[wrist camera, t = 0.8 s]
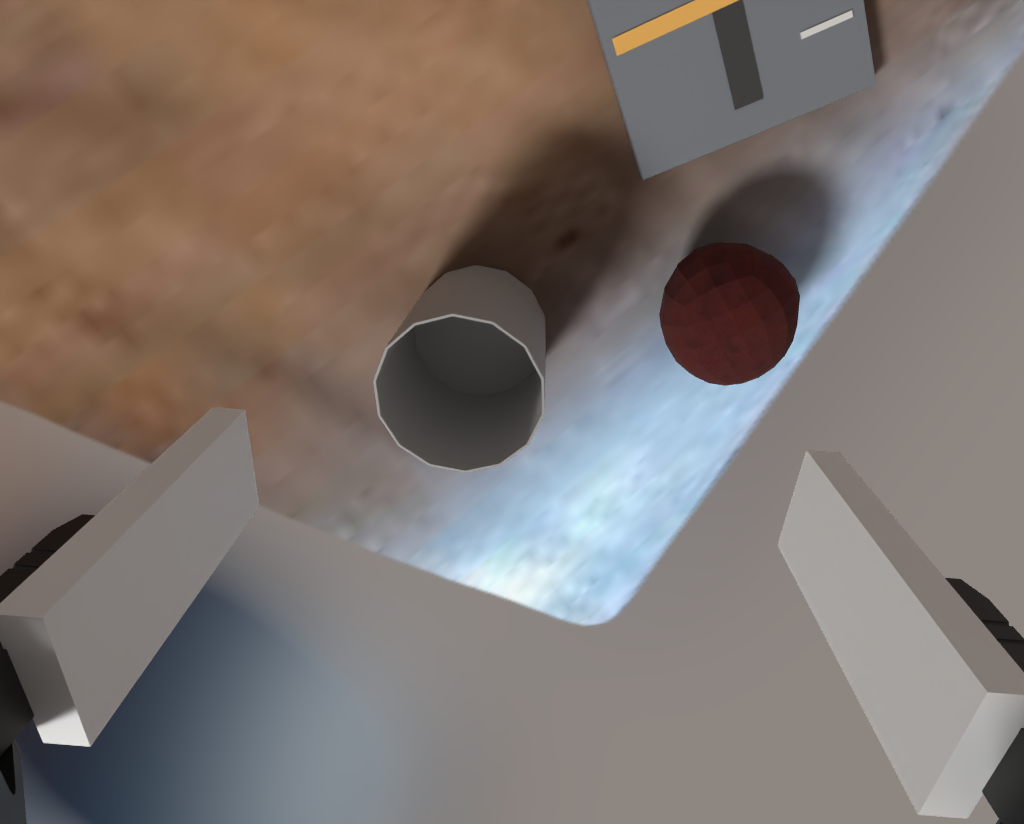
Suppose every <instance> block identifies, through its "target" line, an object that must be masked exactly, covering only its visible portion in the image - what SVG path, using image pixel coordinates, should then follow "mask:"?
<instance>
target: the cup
mask: <svg viewBox="0 0 1024 824" xmlns="http://www.w3.org/2000/svg"><path fill="white" fill-rule="evenodd" d="M545 358H546V330H545V315H544V313H543V311H542V309H541V307H540V305H539V303H538V301H537V299H536V298H535V296H534V294H533V292H532V290H531V289H530V288H528V287H527V286H526V285H524V284H523V283H522V282H520V281H519V280H518V279H516V278H515V277H514V276H512V275H511V274H510V273H508V272H507V271H504V270H499V269H494V268H489V267H484V266H479V265H473V266H470V267H466V268H462V269H458V270H454V271H450V272H446V273H445V274H444V275H443V276H442V277H440V278H439V279H438V280H437V281H436V282H435V283H434V284H433V285H431V286H430V287H429V288H428V289H427V290H426V291H425V292H424V293H423V294H422V296H421V297H420V299H419V300H418V301H417V303H416V304H415V306H414V307H413V309H412V310H411V312H410V313H409V314H408V316H407V317H406V319H405V320H404V322H403V323H402V325H401V326H400V328H399V329H398V330H397V332H396V333H395V335H394V336H393V338H392V339H391V341H390V342H389V343H388V345H387V346H386V348H385V351H384V353H383V356H382V359H381V361H380V364H379V367H378V370H377V372H376V375H375V378H374V380H373V383H374V390H375V397H376V404H377V411H378V417H379V418H380V419H381V421H382V422H383V424H384V425H385V427H386V428H387V430H388V431H389V433H390V434H391V436H392V437H393V439H394V440H395V442H396V443H397V445H398V446H399V447H401V448H402V449H404V450H405V451H407V452H408V453H410V454H412V455H413V456H415V457H416V458H418V459H419V460H421V461H422V462H424V463H425V464H427V465H429V466H432V467H438V468H443V469H448V470H453V471H458V472H464V473H467V472H472V471H477V470H481V469H486V468H491V467H496V466H501V465H502V464H503V463H505V462H506V461H508V460H509V459H510V458H512V457H513V456H514V455H516V454H517V453H519V452H520V451H521V450H523V449H524V448H526V447H527V446H528V445H529V444H530V442H531V440H532V438H533V436H534V434H535V432H536V430H537V428H538V426H539V424H540V422H541V421H542V419H543V417H544V415H545Z"/></svg>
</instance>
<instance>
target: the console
mask: <svg viewBox="0 0 1024 824" xmlns="http://www.w3.org/2000/svg"><path fill="white" fill-rule="evenodd" d="M587 3H588V6H589V9H590V13H591V16H592V19H593V23H594V26H595V29H596V32H597V36H598V39H599V42H600V46H601V49H602V52H603V55H604V59H605V62H606V65H607V69H608V72H609V75H610V78H611V82H612V85H613V88H614V92H615V95H616V98H617V101H618V105H619V108H620V111H621V115H622V118H623V121H624V124H625V128H626V131H627V134H628V137H629V141H630V144H631V147H632V151H633V154H634V157H635V160H636V164H637V167H638V170H639V174H640V177H641V178H642V179H643V180H645V179H647V178H650V177H652V176H655V175H657V174H659V173H662V172H664V171H667V170H669V169H672V168H674V167H676V166H679V165H681V164H684V163H686V162H689V161H691V160H694V159H696V158H698V157H701V156H703V155H706V154H708V153H711V152H713V151H715V150H718V149H720V148H723V147H725V146H728V145H730V144H732V143H735V142H737V141H740V140H742V139H745V138H747V137H749V136H752V135H754V134H757V133H759V132H762V131H764V130H767V129H769V128H771V127H774V126H776V125H779V124H781V123H784V122H786V121H788V120H791V119H793V118H796V117H798V116H801V115H803V114H805V113H808V112H810V111H813V110H815V109H818V108H820V107H822V106H825V105H827V104H830V103H832V102H835V101H837V100H840V99H842V98H844V97H847V96H849V95H852V94H854V93H857V92H859V91H861V90H864V89H866V88H869V87H871V86H874V85H876V80H875V73H874V66H873V60H872V53H871V47H870V40H869V33H868V27H867V20H866V13H865V7H864V0H587Z"/></svg>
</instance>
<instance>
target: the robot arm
mask: <svg viewBox="0 0 1024 824" xmlns="http://www.w3.org/2000/svg"><path fill="white" fill-rule="evenodd" d="M258 508H259V500H258V493H257V486H256V480H255V473H254V466H253V459H252V453H251V446H250V439H249V433H248V426H247V419H246V413H245V410H244V409H231V408H217V407H212V408H211V409H210V410H209V411H208V412H207V413H206V414H205V415H204V416H203V417H202V418H201V419H199V420H198V421H197V422H196V423H195V424H194V425H193V426H192V427H191V428H190V429H189V430H188V431H186V432H185V433H184V434H183V435H182V436H181V437H180V438H179V439H178V440H177V441H176V442H175V443H173V444H172V445H171V446H170V447H169V448H168V449H167V450H166V451H165V452H164V453H163V454H162V455H160V456H159V457H158V458H157V459H156V460H155V461H154V462H153V463H152V464H151V465H150V466H149V467H147V468H146V469H145V470H144V471H143V472H142V473H141V474H140V475H139V476H138V477H137V478H135V479H134V481H132V482H131V483H130V484H129V485H128V486H127V487H126V488H125V489H124V490H123V491H121V492H120V493H119V494H118V495H117V496H116V497H115V498H114V499H113V500H112V501H111V502H110V503H108V505H106V506H105V507H104V508H103V509H102V510H101V511H100V512H99V513H98V514H96V515H83V514H82V515H80V516H79V517H77V518H75V519H73V520H71V521H69V522H67V523H65V524H64V525H62V526H60V527H58V528H56V529H54V530H53V531H51V533H49V534H48V535H47V536H46V537H45V538H44V539H42V540H41V541H40V542H39V543H38V544H37V545H35V546H34V547H33V548H32V551H31V553H26V554H25V555H24V556H23V557H22V558H21V559H19V560H18V561H17V562H16V563H15V564H14V567H13V568H12V569H8V570H7V571H6V572H5V573H3V574H2V575H1V576H0V824H27V823H26V811H25V799H24V787H23V777H22V764H21V753H20V751H19V749H18V746H17V744H16V742H15V739H16V737H17V736H18V735H19V734H20V733H21V731H22V730H23V729H24V728H25V727H26V725H27V724H28V723H29V722H30V721H31V719H32V718H33V720H34V722H35V725H36V727H37V729H38V732H39V734H40V736H41V739H42V741H43V743H53V744H65V745H77V746H89V747H90V746H91V745H92V744H93V742H94V741H95V739H96V738H97V736H98V735H99V733H100V732H101V731H102V729H103V728H104V726H105V725H106V724H107V722H108V721H109V719H110V718H111V717H112V715H113V714H114V712H115V711H116V709H117V708H118V706H119V705H120V704H121V702H122V701H123V700H124V698H125V696H126V695H127V694H128V692H129V691H130V690H131V688H132V687H133V685H134V684H135V682H136V681H137V680H138V678H139V677H140V675H141V674H142V672H143V671H144V670H145V668H146V667H147V665H148V664H149V663H150V661H151V660H152V658H153V657H154V656H155V654H156V653H157V651H158V650H159V648H160V647H161V645H162V644H163V643H164V641H165V640H166V638H167V637H168V636H169V634H170V632H171V631H172V630H173V628H174V627H175V626H176V624H177V623H178V621H179V620H180V619H181V617H182V616H183V614H184V613H185V611H186V610H187V609H188V607H189V606H190V604H191V603H192V602H193V600H194V599H195V597H196V596H197V594H198V593H199V592H200V590H201V589H202V587H203V586H204V585H205V583H206V582H207V580H208V579H209V577H210V576H211V575H212V573H213V572H214V570H215V569H216V567H217V566H218V565H219V563H220V562H221V560H222V559H223V558H224V556H225V555H226V553H227V552H228V550H229V549H230V548H231V546H232V545H233V543H234V542H235V541H236V539H237V538H238V536H239V535H240V533H241V532H242V531H243V529H244V528H245V526H246V525H247V523H248V522H249V521H250V519H251V518H252V516H253V515H254V514H255V512H256V511H257V509H258ZM778 547H779V549H780V551H781V553H782V555H783V557H784V559H785V561H786V562H787V565H788V566H789V568H790V570H791V572H792V574H793V576H794V578H795V580H796V582H797V584H798V586H799V588H800V589H801V591H802V593H803V595H804V597H805V599H806V601H807V603H808V605H809V607H810V609H811V611H812V612H813V614H814V616H815V618H816V620H817V622H818V624H819V626H820V628H821V630H822V632H823V634H824V635H825V637H826V639H827V641H828V643H829V645H830V647H831V649H832V651H833V653H834V655H835V657H836V659H837V660H838V662H839V664H840V666H841V668H842V670H843V672H844V674H845V676H846V678H847V680H848V682H849V683H850V685H851V687H852V689H853V691H854V693H855V695H856V697H857V699H858V701H859V703H860V705H861V707H862V708H863V710H864V712H865V714H866V716H867V718H868V720H869V722H870V724H871V726H872V728H873V730H874V731H875V733H876V735H877V737H878V739H879V741H880V743H881V745H882V746H883V749H884V751H885V752H886V754H887V756H888V758H889V760H890V762H891V764H892V766H893V768H894V770H895V772H896V773H897V776H898V777H899V779H900V781H901V783H902V785H903V787H904V789H905V791H906V793H907V794H908V797H909V799H910V800H911V802H912V804H913V806H914V808H915V810H916V812H917V814H918V815H928V816H940V817H953V818H965V819H967V818H968V817H969V815H970V814H971V812H972V811H973V809H974V807H975V806H976V804H977V803H978V801H979V800H980V798H981V796H982V795H983V794H984V796H985V797H986V799H987V800H988V802H989V804H990V805H991V807H992V808H993V810H994V811H995V813H996V815H997V816H998V818H999V820H998V821H997V823H996V824H1024V638H1023V637H1022V636H1021V635H1020V634H1019V633H1018V632H1017V631H1016V630H1015V628H1014V627H1013V626H1009V622H1008V620H1007V619H1006V618H1005V617H1004V616H1003V615H1002V614H1001V613H1000V611H999V610H998V609H997V608H996V607H995V606H994V605H993V604H992V602H991V601H990V600H989V599H988V598H986V597H985V596H983V595H982V594H981V593H979V592H978V591H976V590H975V589H973V588H972V587H971V586H969V585H968V584H967V583H965V582H964V581H962V580H961V579H952V578H944V576H943V575H942V574H941V573H940V572H939V570H938V569H937V568H936V567H935V566H934V565H933V563H932V562H931V561H930V560H929V558H928V557H927V556H926V555H925V554H924V552H923V551H922V550H921V549H920V548H919V546H918V545H917V544H916V543H915V542H914V540H913V539H912V538H911V537H910V536H909V535H908V533H907V532H906V531H905V530H904V529H903V527H902V526H901V525H900V524H899V523H898V521H897V520H896V519H895V518H894V517H893V515H892V514H891V513H890V512H889V511H888V509H887V508H886V507H885V506H884V505H883V504H882V503H881V501H880V500H879V499H878V497H877V496H876V495H875V494H874V493H873V492H872V490H871V489H870V488H869V487H868V486H867V484H866V483H865V482H864V481H863V479H862V478H861V477H860V476H859V475H858V474H857V472H856V471H855V470H854V469H853V468H852V467H851V465H850V464H849V463H848V462H847V461H846V459H845V458H844V457H843V456H842V455H841V453H839V452H826V451H811V450H806V454H805V457H804V460H803V464H802V467H801V470H800V473H799V477H798V480H797V483H796V486H795V490H794V493H793V496H792V499H791V503H790V506H789V509H788V512H787V516H786V519H785V522H784V525H783V529H782V532H781V535H780V539H779V542H778Z"/></svg>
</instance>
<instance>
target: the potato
mask: <svg viewBox="0 0 1024 824" xmlns="http://www.w3.org/2000/svg"><path fill="white" fill-rule="evenodd" d="M799 300H800V295H799V292H798V288H797V285H796V281H795V279H794V278H793V277H792V275H791V274H790V273H789V271H788V270H787V269H786V267H785V266H784V265H783V264H782V263H781V262H779V261H778V260H777V259H776V258H774V257H773V256H771V255H769V254H767V253H765V252H763V251H760V250H758V249H756V248H754V247H752V246H750V245H747V244H730V243H714V244H711V245H708V246H704V247H701V248H698V249H695V250H694V251H693V252H691V253H690V254H689V255H688V256H687V257H686V258H684V259H683V260H682V261H681V262H680V263H679V264H678V265H677V267H676V269H675V270H674V272H673V274H672V276H671V277H670V279H669V281H668V283H667V284H666V286H665V288H664V294H663V299H662V304H661V309H660V314H659V315H660V322H661V328H662V331H663V335H664V339H665V342H666V345H667V346H668V348H669V350H670V352H671V353H672V355H673V357H674V358H675V360H676V362H678V363H679V364H680V365H681V366H682V367H683V368H684V369H686V370H687V371H688V372H689V373H691V374H692V375H694V376H695V377H697V378H699V379H702V380H704V381H706V382H708V383H712V384H719V385H733V384H741V383H744V382H747V381H750V380H753V379H756V378H759V377H760V376H762V375H763V374H765V373H766V372H768V371H769V370H771V369H772V368H774V367H775V366H776V364H777V363H778V362H779V361H780V360H781V359H782V358H783V357H784V356H785V354H786V353H787V351H788V349H789V347H790V345H791V343H792V342H793V339H794V335H795V331H796V328H797V321H798V311H799Z"/></svg>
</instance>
